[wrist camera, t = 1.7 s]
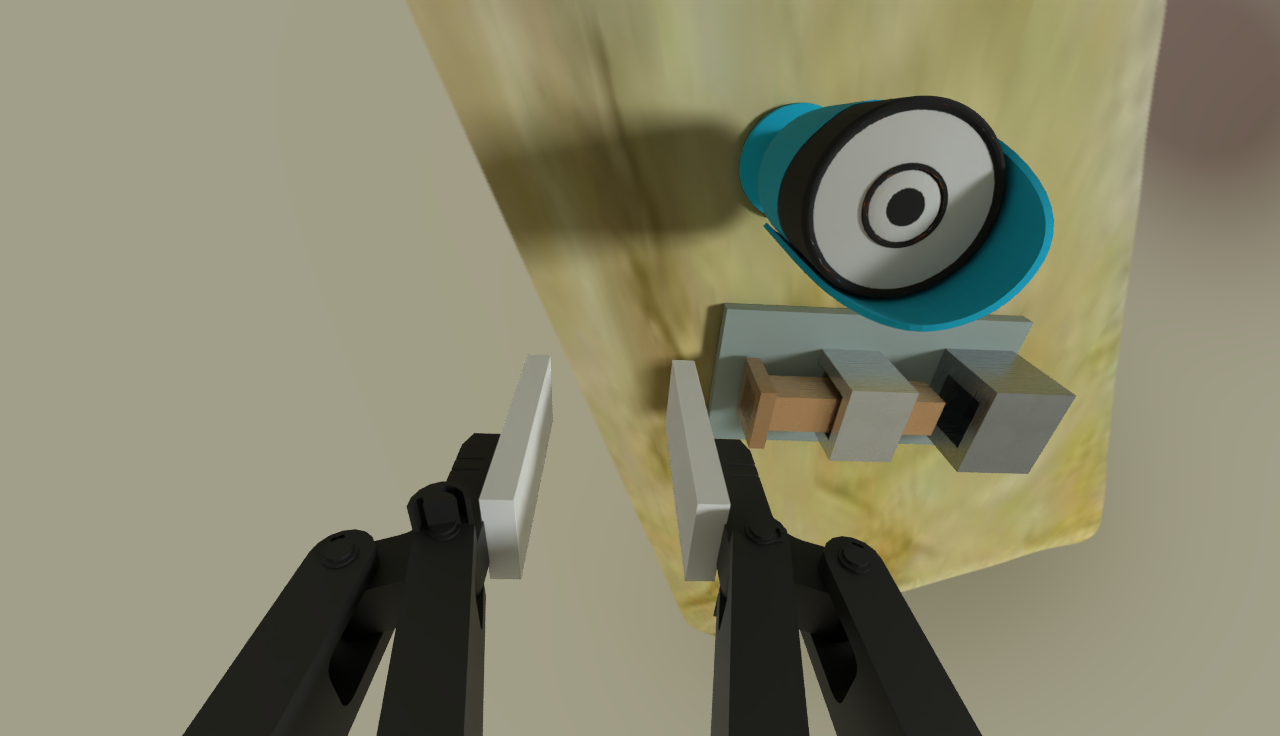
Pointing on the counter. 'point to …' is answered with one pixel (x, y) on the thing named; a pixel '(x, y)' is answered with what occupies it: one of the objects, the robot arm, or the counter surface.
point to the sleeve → (865, 405)
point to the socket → (995, 410)
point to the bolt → (810, 405)
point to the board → (802, 332)
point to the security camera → (900, 207)
